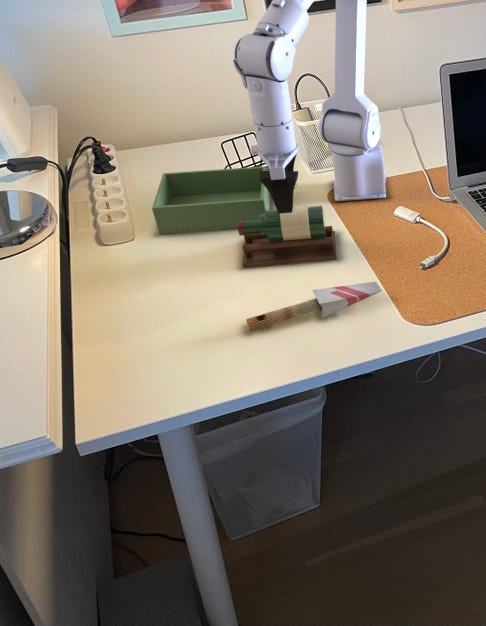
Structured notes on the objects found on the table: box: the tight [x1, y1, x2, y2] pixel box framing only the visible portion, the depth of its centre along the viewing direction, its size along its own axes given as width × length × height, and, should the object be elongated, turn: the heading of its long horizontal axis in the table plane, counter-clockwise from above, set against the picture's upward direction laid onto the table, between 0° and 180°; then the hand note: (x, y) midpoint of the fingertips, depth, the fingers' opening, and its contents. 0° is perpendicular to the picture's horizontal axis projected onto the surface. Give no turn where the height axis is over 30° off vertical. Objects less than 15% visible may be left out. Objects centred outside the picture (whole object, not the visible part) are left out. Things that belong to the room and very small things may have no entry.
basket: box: [151, 165, 271, 235], centre depth 129 cm, size 18×13×5 cm
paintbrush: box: [245, 281, 383, 332], centre depth 107 cm, size 4×3×20 cm
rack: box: [242, 225, 338, 268], centre depth 120 cm, size 15×8×3 cm, turn 102°
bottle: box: [237, 205, 326, 242], centre depth 118 cm, size 14×5×5 cm, turn 101°
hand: (285, 200), depth 116 cm, fingers open, 7 cm apart
